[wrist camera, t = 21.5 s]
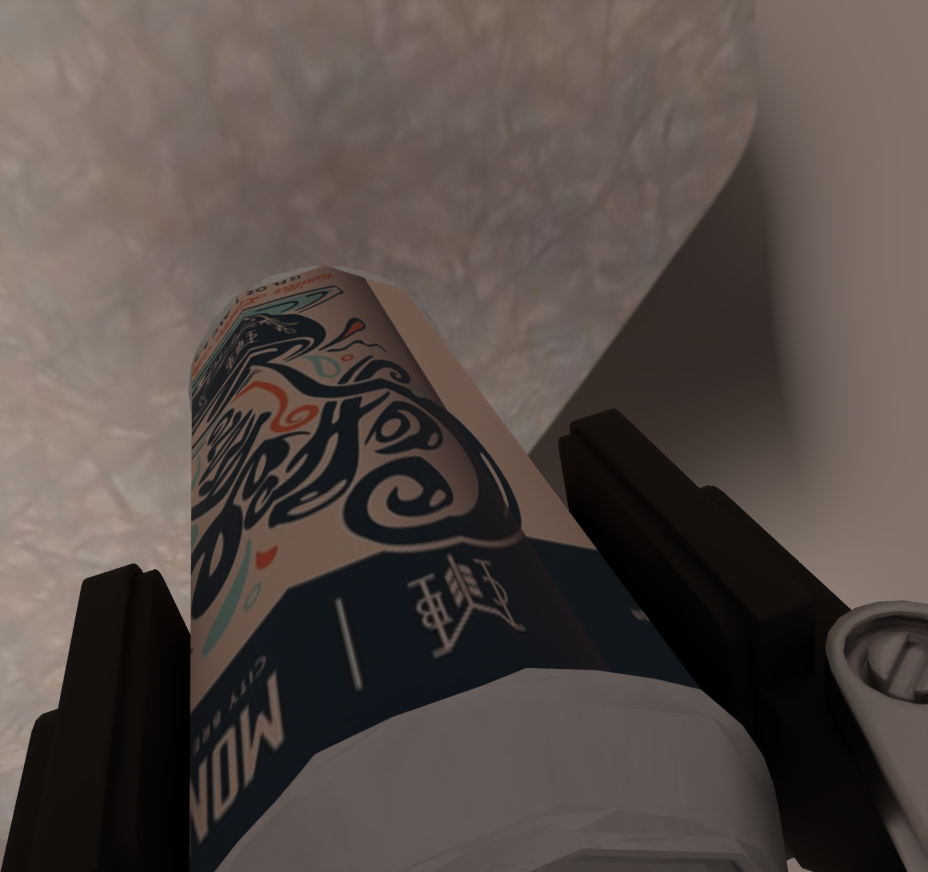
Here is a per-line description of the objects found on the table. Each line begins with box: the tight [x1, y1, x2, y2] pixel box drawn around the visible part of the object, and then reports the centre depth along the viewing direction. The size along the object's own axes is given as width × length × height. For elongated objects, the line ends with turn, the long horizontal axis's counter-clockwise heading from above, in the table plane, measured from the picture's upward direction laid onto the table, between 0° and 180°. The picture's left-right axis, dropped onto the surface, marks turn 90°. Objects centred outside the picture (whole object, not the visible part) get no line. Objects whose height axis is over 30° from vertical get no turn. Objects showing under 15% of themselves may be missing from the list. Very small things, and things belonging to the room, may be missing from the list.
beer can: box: [188, 265, 788, 872], centre depth 11 cm, size 5×5×12 cm
